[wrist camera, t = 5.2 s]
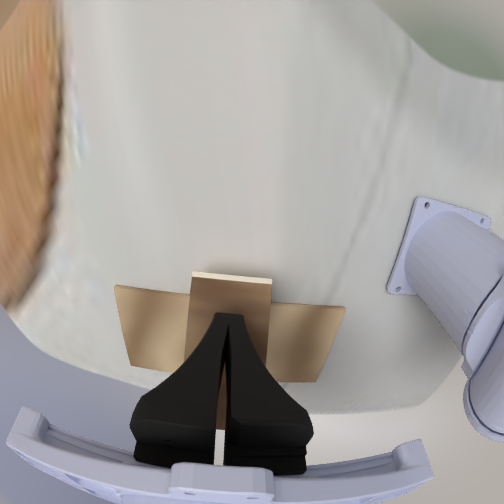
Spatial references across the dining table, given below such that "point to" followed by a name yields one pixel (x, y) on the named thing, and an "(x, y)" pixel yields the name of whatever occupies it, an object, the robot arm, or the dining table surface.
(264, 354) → the walnut block
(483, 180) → the dining table surface
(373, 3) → the dining table surface
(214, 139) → the dining table surface
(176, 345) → the light wood flat board
